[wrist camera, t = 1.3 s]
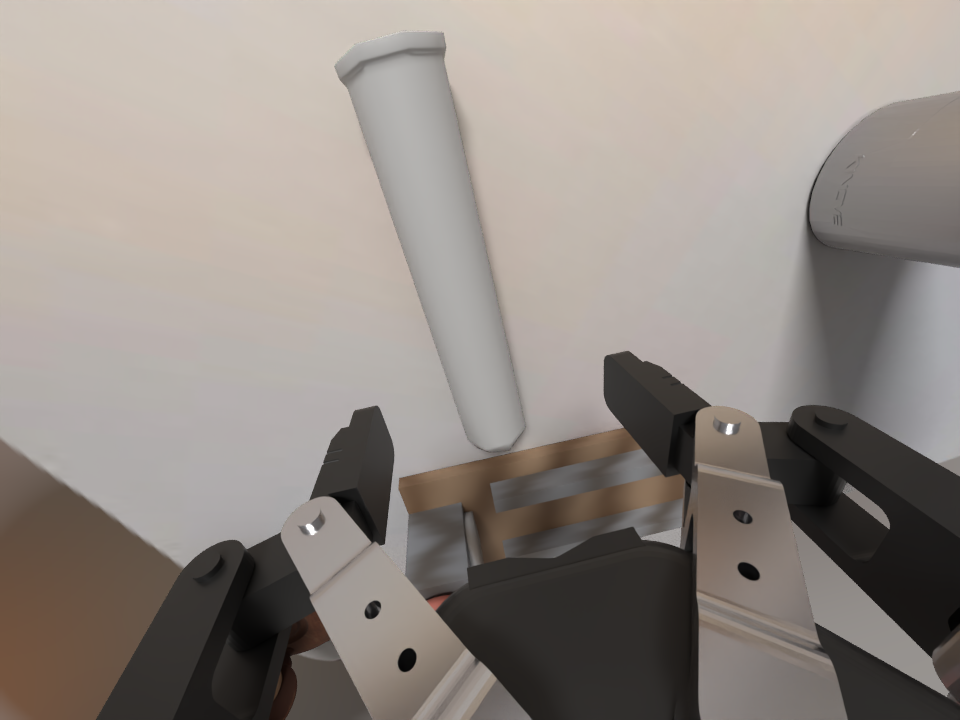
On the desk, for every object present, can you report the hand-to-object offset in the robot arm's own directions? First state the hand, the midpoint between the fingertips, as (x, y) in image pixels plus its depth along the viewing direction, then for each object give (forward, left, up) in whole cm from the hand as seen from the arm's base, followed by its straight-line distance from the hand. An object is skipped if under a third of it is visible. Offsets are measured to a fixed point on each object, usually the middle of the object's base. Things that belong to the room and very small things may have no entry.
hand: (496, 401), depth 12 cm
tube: (0, 0, -14) cm, 14 cm away
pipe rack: (-5, +23, -14) cm, 27 cm away
